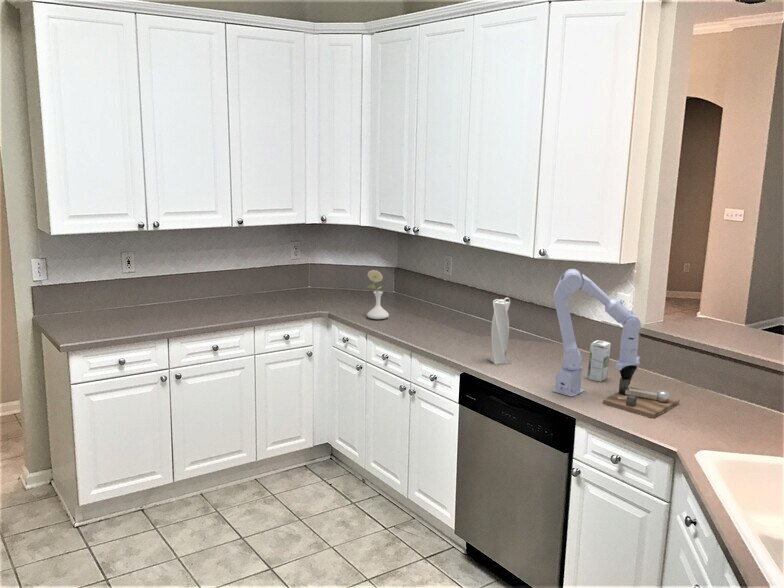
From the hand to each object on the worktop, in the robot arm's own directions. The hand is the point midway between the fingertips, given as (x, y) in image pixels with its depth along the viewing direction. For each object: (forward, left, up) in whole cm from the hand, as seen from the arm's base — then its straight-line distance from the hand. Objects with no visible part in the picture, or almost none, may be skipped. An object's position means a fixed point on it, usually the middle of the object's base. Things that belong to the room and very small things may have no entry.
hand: (625, 385), depth 238 cm
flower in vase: (+13, +142, -4) cm, 143 cm away
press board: (-3, -8, -4) cm, 9 cm away
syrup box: (+10, +16, -4) cm, 19 cm away
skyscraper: (-1, +54, -5) cm, 54 cm away
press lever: (-1, -7, -2) cm, 7 cm away
